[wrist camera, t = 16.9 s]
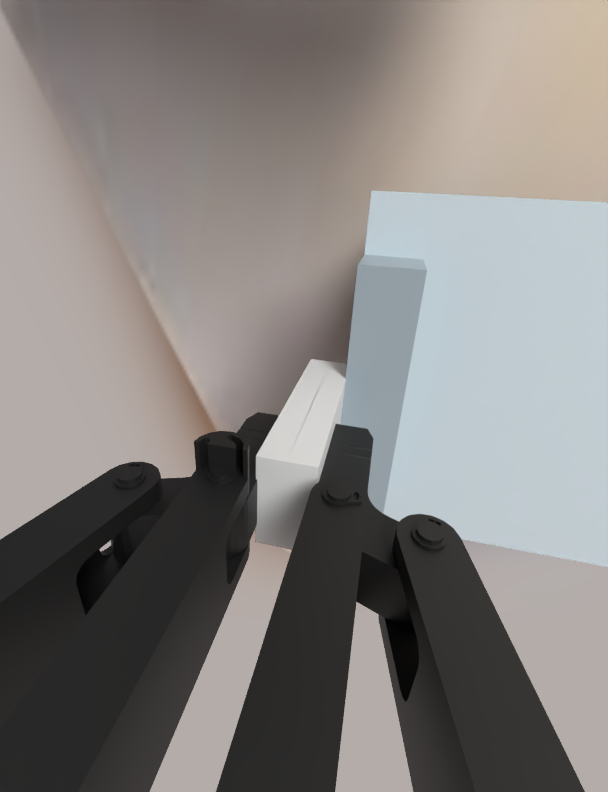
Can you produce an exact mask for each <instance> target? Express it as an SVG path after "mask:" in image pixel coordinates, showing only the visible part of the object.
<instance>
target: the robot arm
mask: <svg viewBox="0 0 608 792" xmlns="http://www.w3.org/2000/svg"><path fill="white" fill-rule="evenodd" d="M346 370H347V364H346V363H338V362H331V361H323V360H316V359H311V360H310V362H309V364H308V365H307V367H306V369H305V371H304V372H303V374H302V376H301V378H300V379H299V381H298V383H297V385H296V386H295V388H294V390H293V392H292V394H291V395H290V397H289V399H288V401H287V402H286V404H285V406H284V408H283V409H282V411H281V413H280V415H279V416H278V415H271V414H265V413H259V412H258V413H256V414H255V415H253V416H251V417H249V418H248V419H246V421H245V422H244V424H243V425H242V426H241V428H240V430H239V431H238V432H237V433H234V432H227V431H218V432H212V433H208V434H205V435H203V436H201V437H199V438H198V439H197V440H195V441H194V446H195V459H196V471H195V472H194V474H193V475H192V476H191V477H186V478H166V479H161V476H160V472H159V470H158V468H157V467H155V466H154V465H152V464H149V463H145V462H131V463H126V464H122V465H119V466H117V467H115V468H113V469H111V470H109V471H107V472H106V473H104V474H103V475H101V476H99V477H98V478H97V479H95V480H93V481H92V482H90V483H89V484H87V485H85V486H84V487H82V488H81V489H79V490H78V491H76V492H75V493H73V494H71V495H70V496H68V497H67V498H65V499H63V500H62V501H60V502H59V503H57V504H56V505H54V506H53V507H51V508H49V509H48V510H46V511H45V512H43V513H41V514H40V515H39V516H37V517H35V518H34V519H32V520H31V521H29V522H27V523H26V524H24V525H23V526H21V527H20V528H18V529H16V530H15V531H13V532H12V533H10V534H9V535H7V536H5V537H4V538H2V539H1V540H0V792H149V791H150V789H151V787H152V784H153V782H154V779H155V777H156V775H157V772H158V770H159V768H160V765H161V763H162V761H163V758H164V756H165V754H166V751H167V749H168V747H169V744H170V741H171V739H172V737H173V735H174V732H175V730H176V728H177V725H178V723H179V720H180V718H181V716H182V713H183V711H184V709H185V706H186V704H187V702H188V699H189V697H190V694H191V692H192V690H193V688H194V685H195V683H196V680H197V678H198V676H199V673H200V671H201V669H202V666H203V664H204V662H205V659H206V657H207V654H208V652H209V650H210V647H211V645H212V643H213V640H214V638H215V636H216V633H217V631H218V628H219V626H220V624H221V621H222V619H223V617H224V614H225V612H226V610H227V607H228V605H229V602H230V600H231V598H232V595H233V593H234V591H235V588H236V586H237V584H238V581H239V579H240V577H241V574H242V572H243V570H244V567H245V565H246V562H247V560H248V557H249V551H250V547H249V546H250V539H251V536H252V534H253V532H254V530H255V542H259V543H264V544H268V545H273V546H277V547H282V548H286V549H291V550H292V552H291V555H290V558H289V562H288V564H287V568H286V571H285V574H284V577H283V580H282V584H281V587H280V590H279V593H278V596H277V599H276V603H275V606H274V609H273V612H272V615H271V619H270V622H269V625H268V628H267V631H266V635H265V638H264V641H263V644H262V648H261V650H260V654H259V657H258V660H257V663H256V667H255V670H254V673H253V676H252V679H251V682H250V686H249V689H248V692H247V695H246V698H245V701H244V705H243V708H242V711H241V714H240V718H239V721H238V724H237V727H236V730H235V733H234V737H233V740H232V743H231V746H230V749H229V752H228V756H227V759H226V762H225V765H224V768H223V771H222V775H221V778H220V781H219V784H218V787H217V791H216V792H335V787H336V778H337V769H338V760H339V751H340V741H341V733H342V724H343V716H344V706H345V698H346V689H347V680H348V671H349V662H350V653H351V644H352V635H353V626H354V618H355V609H356V602H358V603H360V604H362V605H363V606H365V607H367V608H369V609H370V610H372V611H374V612H376V613H378V614H379V623H380V628H381V633H382V638H383V643H384V648H385V653H386V658H387V662H388V668H389V673H390V677H391V682H392V687H393V692H394V697H395V702H396V707H397V712H398V717H399V722H400V726H401V732H402V737H403V742H404V747H405V752H406V757H407V762H408V766H409V771H410V776H411V781H412V786H413V791H414V792H585V791H584V789H583V787H582V785H581V784H580V781H579V779H578V777H577V775H576V773H575V771H574V769H573V767H572V765H571V763H570V761H569V759H568V756H567V754H566V752H565V751H564V748H563V746H562V744H561V742H560V740H559V738H558V736H557V734H556V732H555V730H554V728H553V726H552V724H551V722H550V720H549V718H548V716H547V714H546V711H545V710H544V707H543V705H542V703H541V701H540V699H539V697H538V695H537V693H536V691H535V689H534V687H533V685H532V683H531V681H530V679H529V677H528V675H527V673H526V671H525V669H524V667H523V665H522V662H521V660H520V658H519V656H518V654H517V653H516V650H515V648H514V646H513V644H512V642H511V640H510V638H509V636H508V634H507V632H506V630H505V628H504V626H503V624H502V622H501V619H500V618H499V615H498V613H497V612H496V609H495V607H494V605H493V603H492V601H491V599H490V597H489V595H488V593H487V591H486V589H485V587H484V585H483V583H482V581H481V579H480V577H479V575H478V572H477V570H476V568H475V566H474V564H473V562H472V560H471V558H470V556H469V554H468V552H467V550H466V548H465V546H464V544H463V542H462V540H461V538H460V536H459V535H458V534H457V532H456V531H455V529H454V528H453V527H451V526H450V525H449V524H447V523H446V522H445V521H443V520H441V519H438V518H436V517H434V516H431V515H425V514H413V515H408V516H406V517H405V518H403V519H401V520H400V522H399V521H397V520H395V519H393V518H390V517H388V516H387V515H385V514H383V513H381V512H380V511H379V510H378V509H376V508H375V507H374V505H373V504H372V503H371V501H370V499H369V497H368V483H369V474H370V465H371V457H372V448H373V437H372V435H371V434H370V432H369V430H368V429H366V428H360V427H353V426H347V425H341V418H342V408H343V399H344V391H345V382H346ZM110 540H111V546H110V547H109V548H107V549H105V550H104V551H102V552H100V550H99V549H100V548H101V547H102V546H104V545H105V544H106V543H107V542H109V541H110Z"/></svg>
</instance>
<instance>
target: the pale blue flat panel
mask: <svg viewBox="0 0 608 792" xmlns="http://www.w3.org/2000/svg"><path fill="white" fill-rule="evenodd" d="M341 425H347V426H353V427H360V428H366V429H368V430H369V432H370V434H371V435H372V437H373V448H372V457H371V465H370V474H369V483H368V497H369V499H370V501H371V503H372V504H373V505H374V507H375V508H376V509H378V510H379V511H380V512H381V513H383V514H385V515H387V516H388V517H390V518H393V519H395V520H397V521H399V522H400V520H401V519H403V518H405V517H406V516H408V515H413V514H425V515H431V516H434V517H436V518H438V519H441V520H443V521H445V522H446V523H447V524H449V525H450V526H451V527H453V528H454V529H455V531H456V532H457V534H458V535H459V536H460V538H461V539H463V540H468V541H474V542H479V543H484V544H490V545H495V546H500V547H505V548H510V549H516V550H521V551H526V552H531V553H537V554H542V555H547V556H552V557H558V558H563V559H568V560H574V561H579V562H584V563H589V564H595V565H600V566H605V567H608V202H588V201H569V200H549V199H529V198H510V197H490V196H470V195H450V194H431V193H411V192H391V191H372V190H371V199H370V208H369V217H368V226H367V235H366V244H365V253H364V256H363V257H362V259H361V260H360V262H359V263H358V265H357V275H356V284H355V294H354V303H353V313H352V322H351V332H350V342H349V351H348V361H347V370H346V382H345V391H344V399H343V408H342V418H341Z"/></svg>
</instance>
